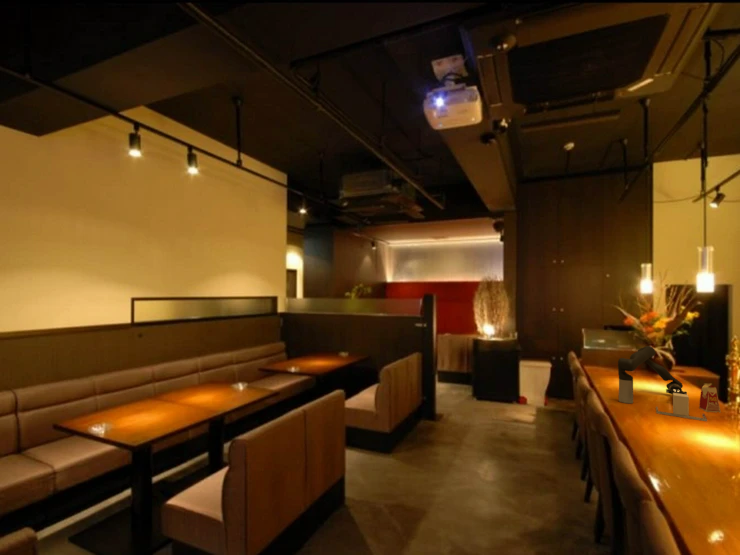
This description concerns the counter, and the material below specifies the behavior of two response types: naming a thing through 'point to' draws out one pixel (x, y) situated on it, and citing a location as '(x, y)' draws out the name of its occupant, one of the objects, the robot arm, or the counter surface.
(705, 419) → the metal staple
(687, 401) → the carton
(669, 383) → the robot arm
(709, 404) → the milk carton
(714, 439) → the counter surface
